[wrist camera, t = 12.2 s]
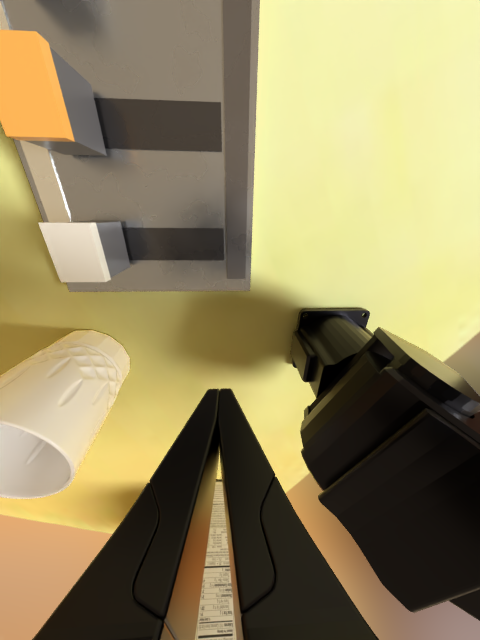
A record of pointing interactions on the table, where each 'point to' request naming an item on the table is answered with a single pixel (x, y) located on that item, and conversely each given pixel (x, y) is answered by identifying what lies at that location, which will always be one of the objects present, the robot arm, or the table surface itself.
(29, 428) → the white cup
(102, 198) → the panel
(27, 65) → the block
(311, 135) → the table surface
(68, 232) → the block
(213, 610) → the candy bar box
